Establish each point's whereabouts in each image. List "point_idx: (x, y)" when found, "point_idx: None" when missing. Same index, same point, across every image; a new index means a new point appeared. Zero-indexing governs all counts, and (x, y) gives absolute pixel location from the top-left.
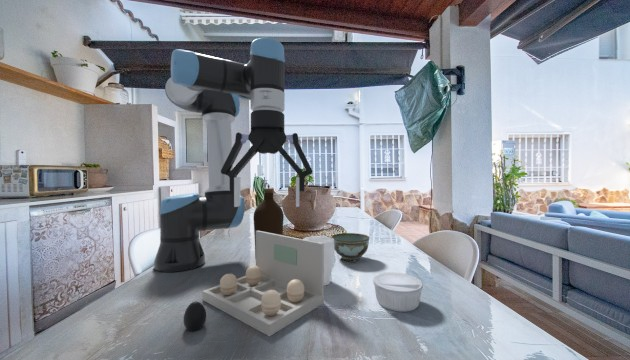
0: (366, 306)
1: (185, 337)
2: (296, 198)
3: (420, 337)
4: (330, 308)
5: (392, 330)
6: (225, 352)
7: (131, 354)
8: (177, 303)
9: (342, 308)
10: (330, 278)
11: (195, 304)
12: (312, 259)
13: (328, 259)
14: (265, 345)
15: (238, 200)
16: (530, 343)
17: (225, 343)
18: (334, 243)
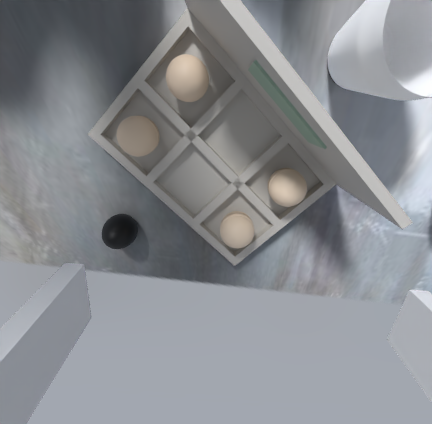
0: (406, 195)
1: None
2: (420, 380)
3: (426, 280)
4: (339, 195)
5: (401, 263)
6: (184, 277)
7: None
8: (53, 141)
9: None
10: (396, 64)
11: (114, 246)
12: (354, 186)
13: (421, 90)
14: (229, 272)
15: (72, 326)
16: None
17: (179, 263)
18: None
